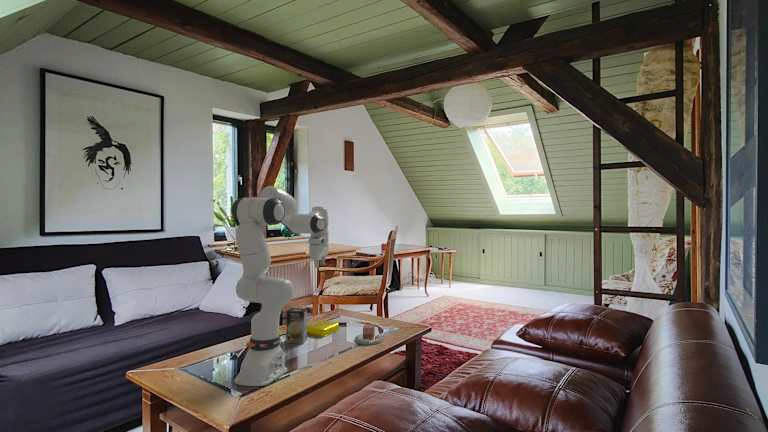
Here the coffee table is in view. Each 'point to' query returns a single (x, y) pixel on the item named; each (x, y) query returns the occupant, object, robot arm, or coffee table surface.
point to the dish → (360, 340)
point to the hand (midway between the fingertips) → (319, 266)
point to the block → (368, 331)
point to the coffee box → (296, 325)
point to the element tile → (322, 328)
